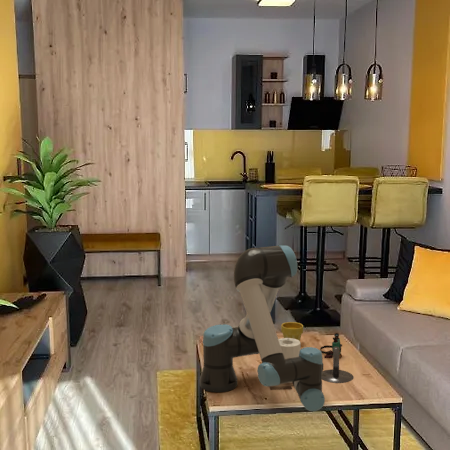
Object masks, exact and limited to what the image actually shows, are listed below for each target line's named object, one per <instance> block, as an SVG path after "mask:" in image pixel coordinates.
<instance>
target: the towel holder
mask: <svg viewBox="0 0 450 450" xmlns="http://www.w3.org/2000/svg"><path fill="white" fill-rule="evenodd" d="M332 357H333V358H332V360H333V361H332V369H326V370H323V371H322V381H324V382H327V383H333V384H344V383H350V382H351V381H352V380H354V375H353V374H352V373H351V372H349V371H347V370H343V369H340V359H339V347H333V356H332Z"/></svg>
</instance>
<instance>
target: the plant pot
mask: <svg viewBox="0 0 450 450" xmlns="http://www.w3.org/2000/svg"><path fill="white" fill-rule="evenodd" d="M280 332H281V333H282V336H283V337H282V338H293V339H297V340H299V341H300V342H301V338H302V334H303V333H304V325H303V324H302V323H300V322H296V321H289V322H288V321H287V322H283V323H281V327H280Z"/></svg>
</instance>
